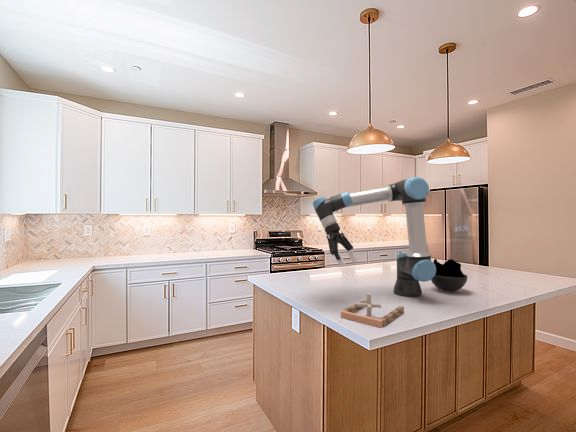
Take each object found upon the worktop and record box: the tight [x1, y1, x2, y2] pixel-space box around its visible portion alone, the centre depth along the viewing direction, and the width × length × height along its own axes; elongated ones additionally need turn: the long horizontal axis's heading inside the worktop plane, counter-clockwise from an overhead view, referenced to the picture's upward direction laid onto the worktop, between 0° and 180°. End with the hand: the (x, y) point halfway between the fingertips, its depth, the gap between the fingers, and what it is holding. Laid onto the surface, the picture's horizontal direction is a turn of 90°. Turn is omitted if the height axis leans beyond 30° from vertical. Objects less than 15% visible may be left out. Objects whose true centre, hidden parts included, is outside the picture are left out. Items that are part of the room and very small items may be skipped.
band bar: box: [340, 310, 384, 328], centre depth 123 cm, size 2×18×2 cm, turn 49°
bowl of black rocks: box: [430, 258, 468, 293], centre depth 174 cm, size 20×20×19 cm
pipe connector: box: [356, 292, 382, 317], centre depth 129 cm, size 10×10×10 cm
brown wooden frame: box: [341, 298, 405, 327], centre depth 132 cm, size 23×19×2 cm
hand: (349, 264), depth 143 cm, fingers open, 13 cm apart
